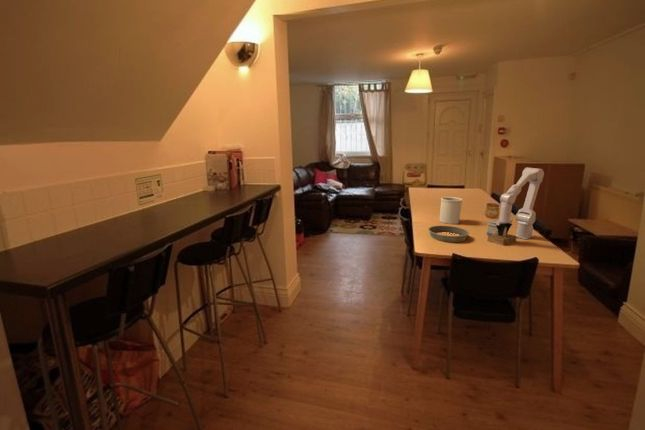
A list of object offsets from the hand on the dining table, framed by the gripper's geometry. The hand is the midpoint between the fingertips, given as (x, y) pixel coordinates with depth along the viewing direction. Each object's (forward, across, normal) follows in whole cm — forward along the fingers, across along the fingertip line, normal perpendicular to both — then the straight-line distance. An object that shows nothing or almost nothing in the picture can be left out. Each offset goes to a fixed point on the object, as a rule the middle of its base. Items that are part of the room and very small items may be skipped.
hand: (502, 235), depth 214 cm
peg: (+4, 0, 0) cm, 4 cm away
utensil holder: (+4, +11, +47) cm, 48 cm away
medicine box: (+4, +8, +10) cm, 14 cm away
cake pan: (+4, -21, +23) cm, 32 cm away
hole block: (+4, 0, 0) cm, 4 cm away
